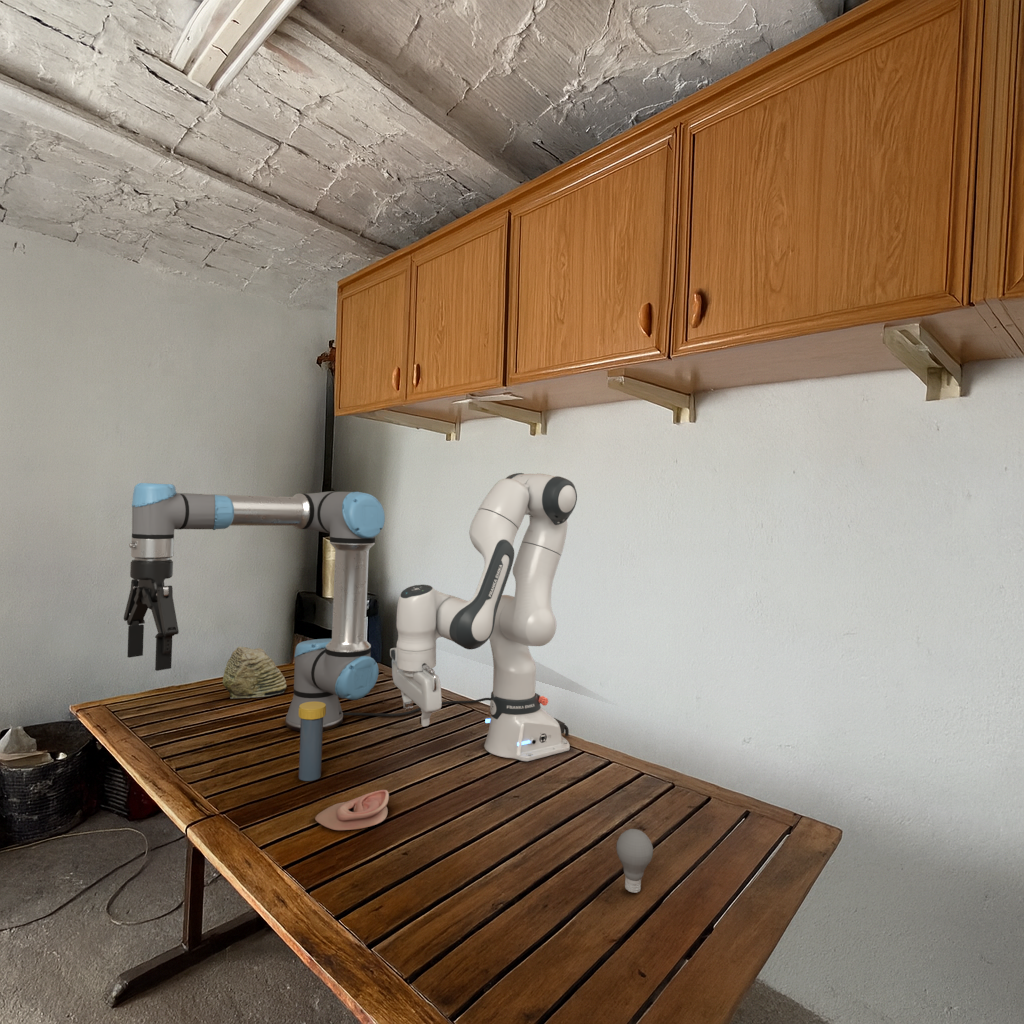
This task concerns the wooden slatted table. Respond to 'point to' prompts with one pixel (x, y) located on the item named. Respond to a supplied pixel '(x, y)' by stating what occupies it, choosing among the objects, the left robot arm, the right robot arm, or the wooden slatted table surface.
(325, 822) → the anatomical model
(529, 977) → the wooden slatted table surface
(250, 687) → the fossil
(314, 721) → the blue-grey cylinder
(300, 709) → the lid
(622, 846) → the light bulb
